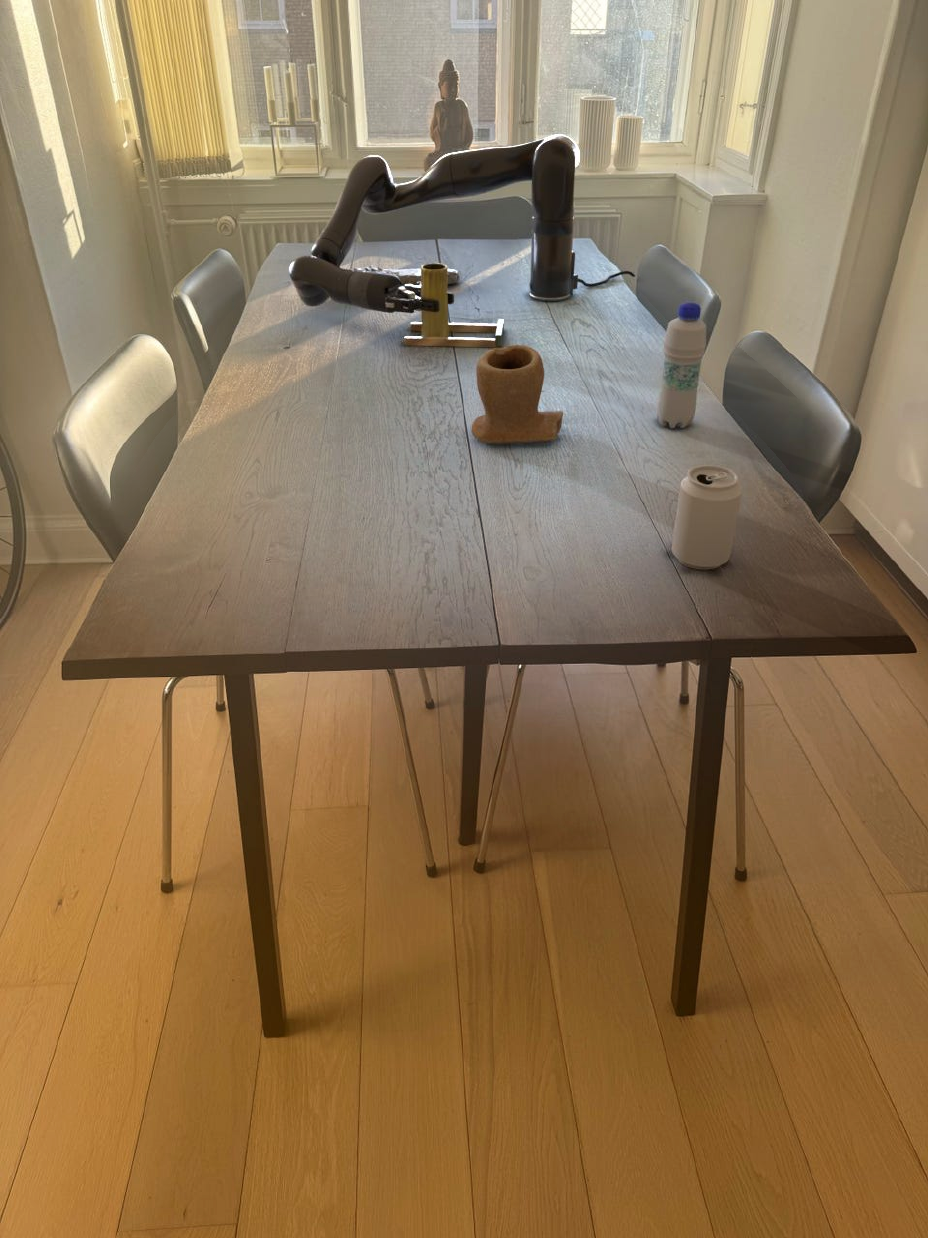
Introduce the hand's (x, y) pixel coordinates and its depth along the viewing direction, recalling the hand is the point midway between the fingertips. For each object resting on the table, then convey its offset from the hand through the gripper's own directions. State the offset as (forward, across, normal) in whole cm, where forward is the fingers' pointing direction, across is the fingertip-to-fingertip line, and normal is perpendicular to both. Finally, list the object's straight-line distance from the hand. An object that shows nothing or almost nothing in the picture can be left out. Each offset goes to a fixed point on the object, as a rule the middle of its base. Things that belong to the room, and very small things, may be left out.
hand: (445, 302), depth 191 cm
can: (+71, -60, +8) cm, 94 cm away
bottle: (+55, -20, +8) cm, 59 cm away
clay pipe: (+34, -38, +8) cm, 52 cm away
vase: (-3, 0, +8) cm, 8 cm away
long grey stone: (-31, +28, +8) cm, 43 cm away
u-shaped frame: (+1, +1, +8) cm, 8 cm away
